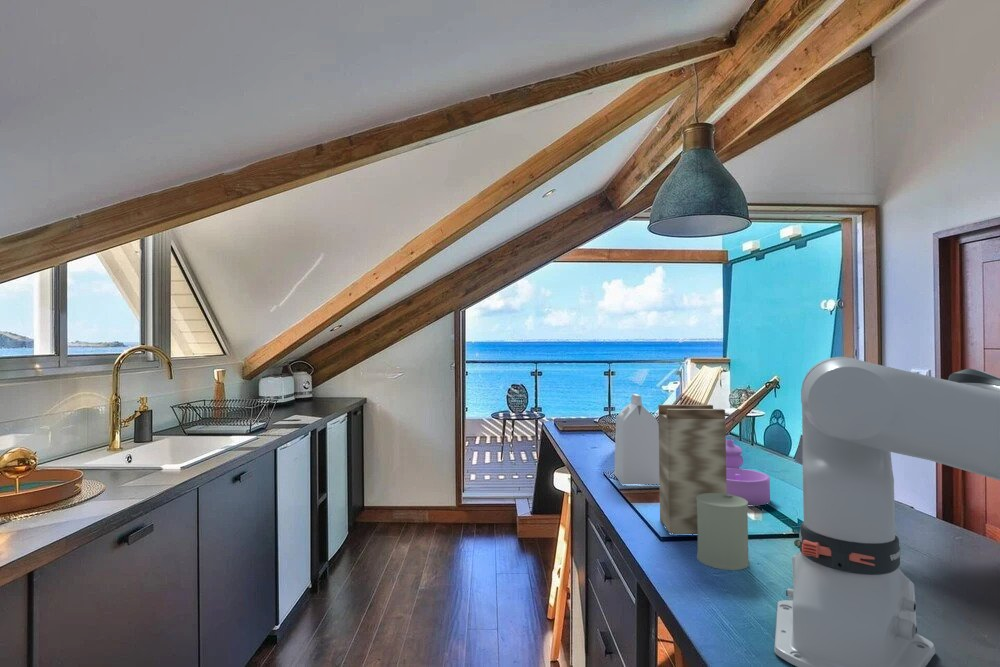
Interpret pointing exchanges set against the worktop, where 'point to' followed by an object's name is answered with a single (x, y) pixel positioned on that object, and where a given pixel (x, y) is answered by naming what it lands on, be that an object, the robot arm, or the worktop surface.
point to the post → (689, 462)
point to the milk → (636, 445)
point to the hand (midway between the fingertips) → (830, 374)
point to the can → (722, 531)
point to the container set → (745, 478)
